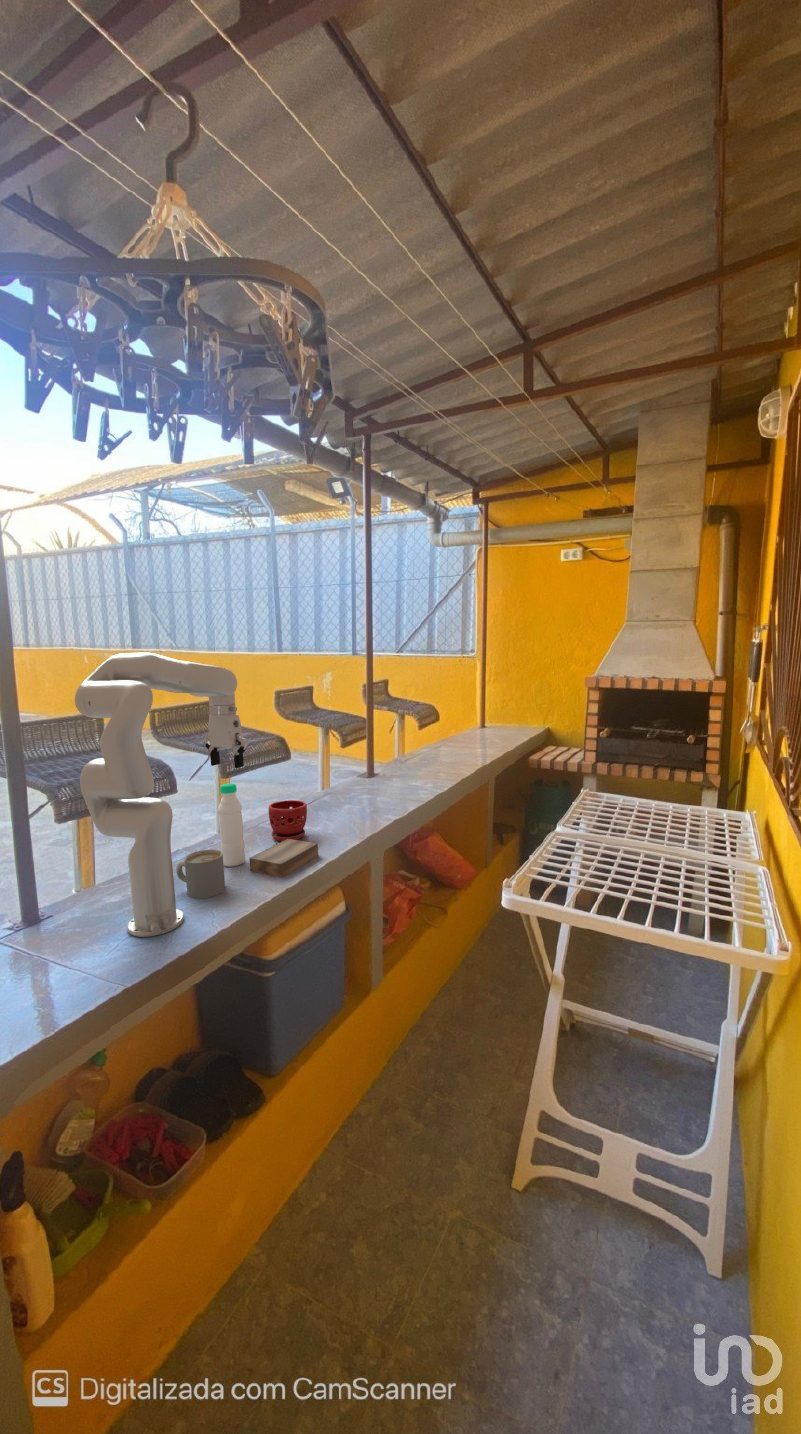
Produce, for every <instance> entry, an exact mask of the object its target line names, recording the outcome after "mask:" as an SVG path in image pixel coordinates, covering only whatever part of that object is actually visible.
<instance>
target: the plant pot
mask: <svg viewBox="0 0 801 1434" xmlns="http://www.w3.org/2000/svg"><path fill="white" fill-rule="evenodd" d="M307 814H308V804H307V803H306V802H305V801H304V800H303V801H302V800H295V799H294V800H293V799H291V800H281V801H276V802H272V803H270V804H269V805H268V819H269V824H270V826H271V827H270V828H271V829H272V832H271V837H272V839H274V840H276V841H280V842H282V841H284V840H286V839H292V840H299V839H302V838H303V837H304V836H305V834H306V830H305V829H304V828H305V826H306V823H307V818H308V817H307V816H308V815H307Z"/></svg>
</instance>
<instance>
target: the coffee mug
mask: <svg viewBox="0 0 801 1434" xmlns="http://www.w3.org/2000/svg"><path fill="white" fill-rule="evenodd" d="M183 867H184V869H185V870H184V871H185V874H184V872H183ZM224 867H225V866H224V865H223V853H222V852H221V850H219V849H200V850H197V851H193V852H192V853H189V854H187V855H186V856H185V857H184V860H181V861H179V862H178V863H177V865H176V875H177V878H178V879H179V880H180V881H181V882H184V883H186V893H187V896H188V897H189V898H192V899H197V900H198V899H207V898H213V897H215V896H218V895H220V894H222V893H223V892H225V890H226V881H225V868H224Z"/></svg>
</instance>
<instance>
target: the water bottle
mask: <svg viewBox="0 0 801 1434" xmlns="http://www.w3.org/2000/svg"><path fill="white" fill-rule="evenodd" d="M219 791H220V792H219V793H220V794H221V796H222V797H221V799H220V801H219V804H218V807H217V812H218V829H219V836H220V851H221V852H222V853H223V865H224V867H231V868H232V867H237V866H241V865H242V864H244V863H245V861H246V852H245V840H244V821H243V813H242V809H243V806H242V804H241V802H240V801H239V798H238V796H237V795H236V793H237V785H236V783H224V784H221V785H220V788H219Z"/></svg>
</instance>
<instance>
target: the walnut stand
mask: <svg viewBox="0 0 801 1434" xmlns="http://www.w3.org/2000/svg"><path fill="white" fill-rule="evenodd" d="M318 856H319V844H318V843H316V842H311V841H310V842H309V841H303V840H299V839H297V840H292V839H286V840H284V841H280V842H278V843H277V844H275V845H274V844H273V846H271V847H269V848H266V849H265V850H262V851H260V852H259V853H256V854H255V855H252V856H251V857H249V858H248V859H249V867H250V868H249V870H250V872H254V873H259V874H264V875H269V876H273V875H274V877H278V876H279V877H278V878H283V877H286V875H288V874H290V873H293V871H295V870H297V869H298V868H301V867H302V866H303V865H305V864H307V863H308V861H309V862H311V861H312V860H314V859H316V858H317V857H318ZM306 862H307V863H306Z"/></svg>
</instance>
